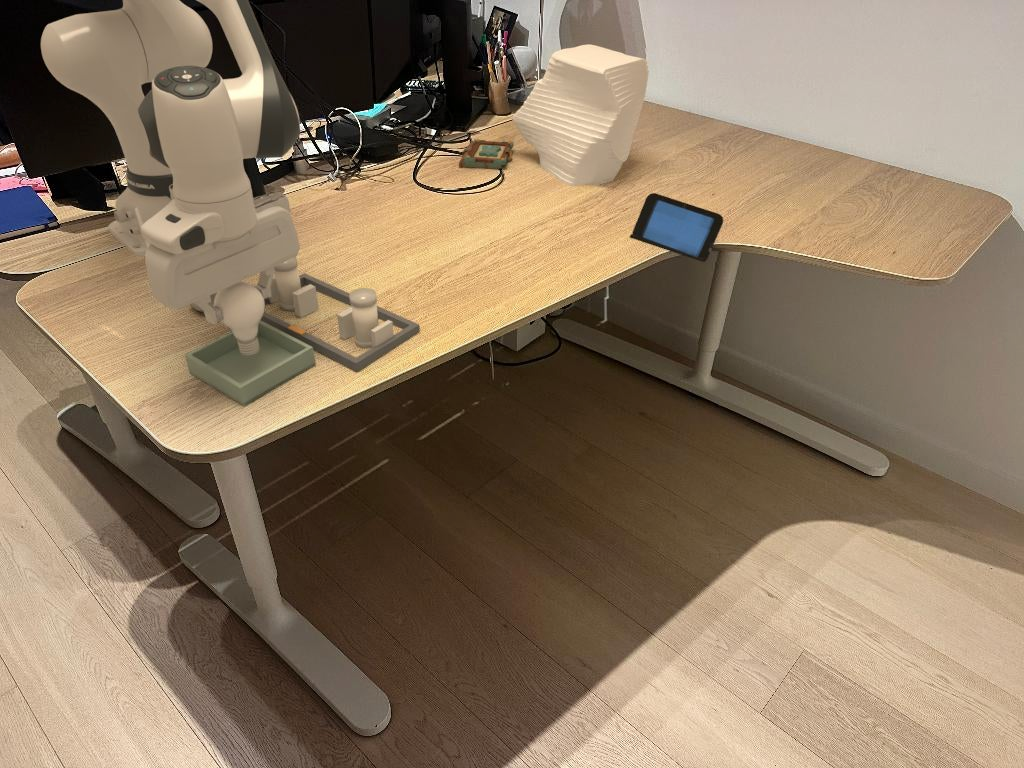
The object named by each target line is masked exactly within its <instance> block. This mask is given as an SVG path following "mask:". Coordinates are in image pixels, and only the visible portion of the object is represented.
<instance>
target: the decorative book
mask: <svg viewBox="0 0 1024 768" xmlns="http://www.w3.org/2000/svg"><path fill="white" fill-rule="evenodd" d="M513 148H514V141H512V140H510V141H506V140H502V141H491V140H485V139H479V138H476V139H474V140H472V141H470V143H469V144H468V146H467V147H465V148H464V149H463V151H462V153H461V158H460V160H459V162H458V167H459V169H462V168H479V169H481V168H482V169H497V170H498V169H502V166H506V163H511V161H512V157H513V151H512V150H513Z"/></svg>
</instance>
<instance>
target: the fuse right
mask: <svg viewBox="0 0 1024 768" xmlns="http://www.w3.org/2000/svg"><path fill="white" fill-rule="evenodd" d="M349 298H350V303H351V306H350V307H351V308H352V316H353V324H354V332H355V335H353V336H354V343H355V345H356V346H357V348H360V349H371V348H373V347H372V338H371V330H372V329H374V328H375V327H377V326H379V325H380V324H379V318H378V314H377V306H378V304H377V300H378V299H377V298H378V297H377V292H376V291H375V290H374V289H372V288H368V287H365V288H364V287H362V288H361V287H360V288H356V289H354V290H352V291H351V292H350V294H349Z"/></svg>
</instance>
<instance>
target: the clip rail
mask: <svg viewBox="0 0 1024 768" xmlns="http://www.w3.org/2000/svg"><path fill="white" fill-rule="evenodd" d="M299 278H300V283H301V289H299V290H297V291H295V292H293V293H292V295H293V301H294V307H295V316H297V317H298V318H300V319H302V318H304V317H306V316H308V315H310V314H311V313H313V312H316V311H317V310H319V309H320V308H319V307H320V306H319V301H318V296H317V295H318V294H317V292H319V293H321V294H323V295H326V296H328V297H329V298H333V299H334V300H336V301H339V302H342V303H343V304H346V305H348V306H350V307H348V308H346V309H344V310H342V311H340V312H338V313H337V314H336V318H337V325H338V332H339V338H341V339H343V340H348V339H349V338H351V337H353V336H355V332H354V324H353V316H352V308H351V303H350V298H349V294H350V293H351V292H350V293H349V292H347V291H345V290H342V289H341V288H338V287H336V286H334V285H332V284H330V283H327V282H325V281H324V280H323V281H322V280H321V279H319V278H316V277H314V276H312V275H309V274H307V273H305V272H304V273H302V274H299ZM270 289H271V294H272V296H271V297H270V298H267V299H265V300H264V302H265V305H268V304H269V303H270V304H274V303H276V302H278V301H280V298H279V293H278V288H277V284H276V279H275V274H274V277H273V280H272V283H271V286H270ZM377 314H378V320H379V319H380V320H382V321H384V322H382V323H381V324H379V326H377V327H375V328H374V329H372V330H371V338H372V348H369V349H368V350H366V351H365V352H363V353H362V354H360V355H358V356H354V355H353V354H350V353H348V352H346V351H344V350H342V349H340V348H338V347H336V346H334V345H332V344H330V343H328V342H326V341H325V340H323V339H320V338H318V337H316V336H315V335H312V334H311V333H309V332H307V330H305V329H303V328H301V327H298V326H297V325H294V324H291V323H288V322H287V321H284V320H282V319H280V318H279V317H277V316H274V315H272V314H271V313H268V312H266V311H265V310H264V314H263V316H262V318H261V321H263V322H265V323H267V324H269V325H271V326H273V327H275V328H277V329H278V330H280V331H282V332H284V333H286V334H288V335H290V336H292V337H294V338H296V339H298V340H300V341H302V342H304V343H306V344H308V345H310V346H312V347H313V351H316V352H317V353H320V354H321V355H324V356H326V357H328V358H330V359H332V360H333V361H335V362H336V363H339V364H341V365H343V366H345V367H346V368H348V369H350V370H353V371H354V372H356V373H358V372H359V371H361V370H363V369H364V368H366V367H368V366H369V365H371V364H373V363H374V362H376V361H377V360H379V359H381V358H382V357H383V356H385V355H387V354H388V353H390V352H391V351H392V350H394V349H395V348H397V347H399V346H400V345H401V344H403V343H405V342H406V341H408V340H409V339H411V338H412V337H414V336H416V335H417V334H419V333H420V329H421V328H420V327H421V326H420V324H419V323H417V322H414V321H411V320H409V319H407V318H405V317H403V316H401V315H398V314H396V313H394V312H393V311H389V310H387V309H385V308H384V307H380V306H379V305H377ZM393 326H395V327H397V328H399V329H402V330H400V331H398V332H396V333H395V334H394V327H393Z"/></svg>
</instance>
